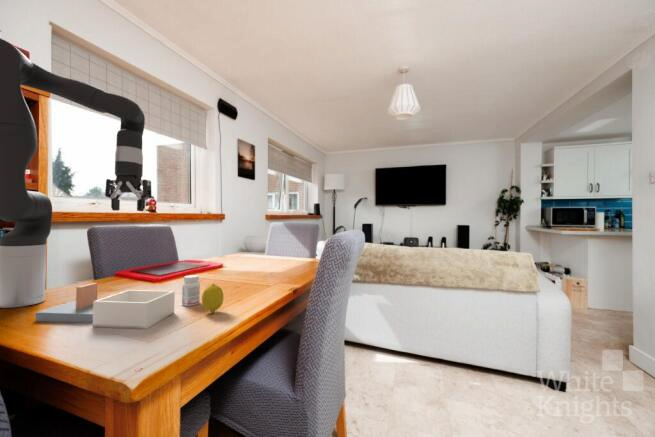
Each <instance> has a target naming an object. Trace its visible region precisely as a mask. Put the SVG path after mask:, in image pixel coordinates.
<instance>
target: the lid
mask: <svg viewBox="0 0 655 437" xmlns="http://www.w3.org/2000/svg"><path fill="white" fill-rule="evenodd" d="M75 290H76V291H75V294H76V295H75V300H72V301H69V302H66V303H62V304H59V305H56V306H53V307H49V308H46V309H44V310H39V311H37V312H35V322H50V323H51V322H52V323H53V322H56V323H82V324H83V323H85V324H86V323H87V324H93V301H96V300H99V299H100V298H98V282H91V283H87V284H84V285H79V286H76V287H75Z"/></svg>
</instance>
